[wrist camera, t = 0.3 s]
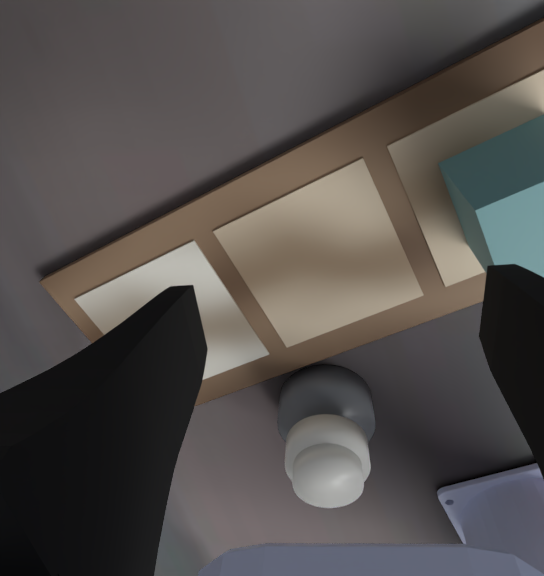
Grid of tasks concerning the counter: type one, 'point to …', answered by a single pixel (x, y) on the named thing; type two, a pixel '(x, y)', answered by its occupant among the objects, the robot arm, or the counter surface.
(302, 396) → the dome base
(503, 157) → the teal rectangular block
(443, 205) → the game board
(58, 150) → the counter surface
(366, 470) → the dome
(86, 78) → the counter surface
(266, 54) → the counter surface
